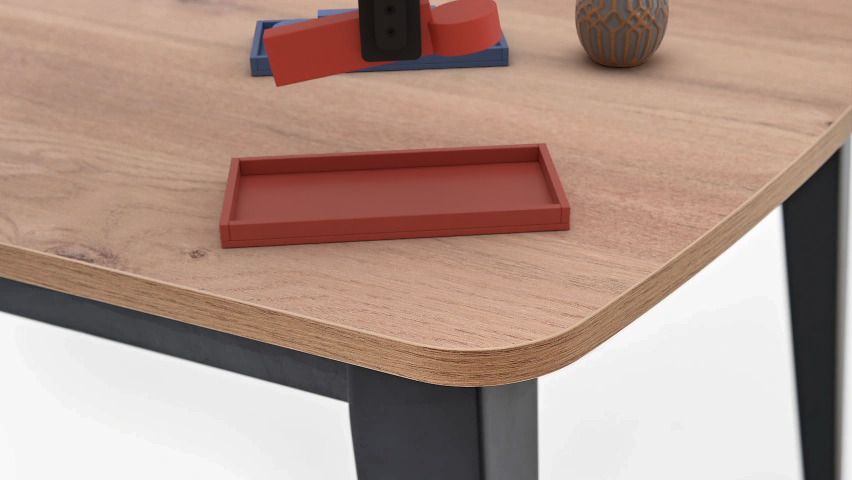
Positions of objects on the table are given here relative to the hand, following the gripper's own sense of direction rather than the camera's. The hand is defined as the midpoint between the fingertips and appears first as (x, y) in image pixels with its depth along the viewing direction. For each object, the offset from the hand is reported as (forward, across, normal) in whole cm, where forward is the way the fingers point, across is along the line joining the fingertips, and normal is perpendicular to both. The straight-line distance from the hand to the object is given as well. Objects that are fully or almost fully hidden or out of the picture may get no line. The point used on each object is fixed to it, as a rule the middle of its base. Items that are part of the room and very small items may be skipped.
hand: (390, 50), depth 66 cm
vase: (+10, -23, +18) cm, 31 cm away
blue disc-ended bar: (+9, -27, -2) cm, 29 cm away
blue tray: (+9, -27, 0) cm, 29 cm away
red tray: (+9, 0, 0) cm, 9 cm away
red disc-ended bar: (0, 0, 0) cm, 0 cm away
